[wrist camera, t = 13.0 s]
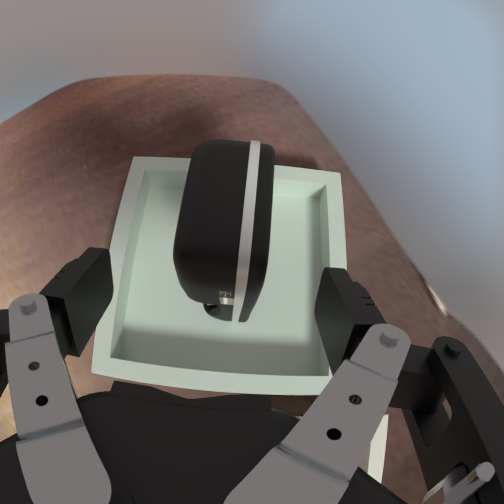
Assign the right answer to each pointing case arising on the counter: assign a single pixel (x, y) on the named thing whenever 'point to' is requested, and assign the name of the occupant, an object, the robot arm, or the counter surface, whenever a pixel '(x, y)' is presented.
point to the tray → (192, 313)
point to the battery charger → (225, 227)
